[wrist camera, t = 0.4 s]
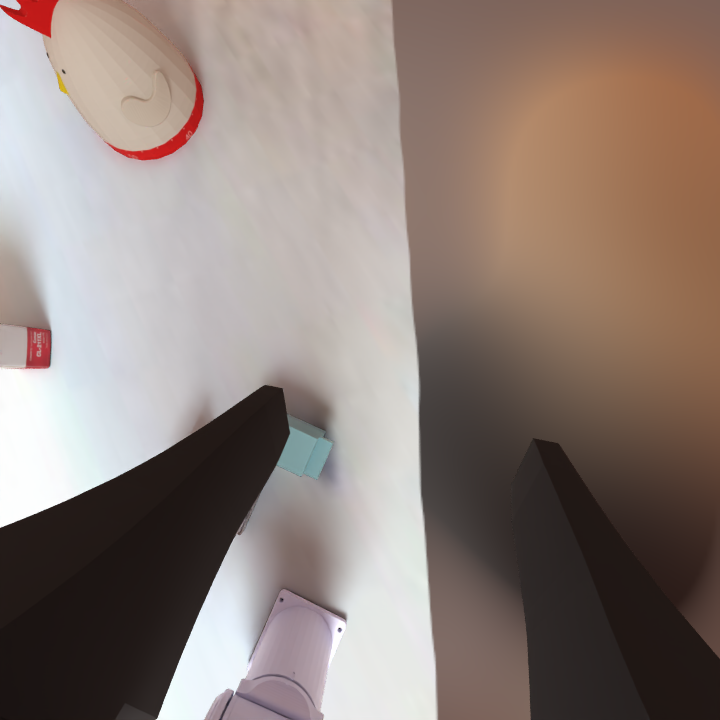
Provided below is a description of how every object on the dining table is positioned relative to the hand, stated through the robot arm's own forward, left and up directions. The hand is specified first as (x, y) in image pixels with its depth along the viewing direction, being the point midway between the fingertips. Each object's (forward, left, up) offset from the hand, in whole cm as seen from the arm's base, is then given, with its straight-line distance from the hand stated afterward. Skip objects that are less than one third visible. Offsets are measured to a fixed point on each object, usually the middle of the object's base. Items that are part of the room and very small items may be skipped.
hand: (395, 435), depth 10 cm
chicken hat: (+21, +41, -28) cm, 54 cm away
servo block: (-9, +7, -27) cm, 30 cm away
